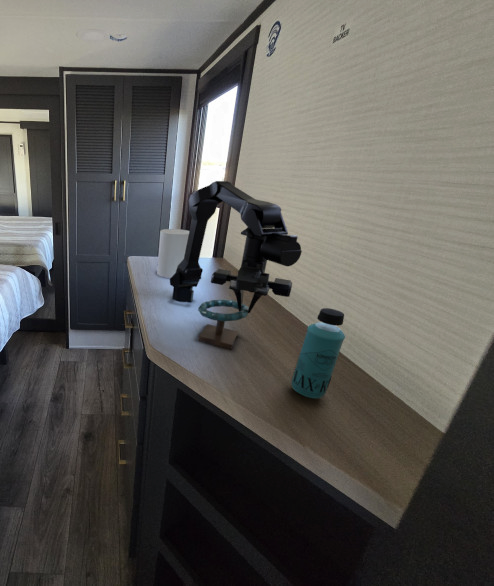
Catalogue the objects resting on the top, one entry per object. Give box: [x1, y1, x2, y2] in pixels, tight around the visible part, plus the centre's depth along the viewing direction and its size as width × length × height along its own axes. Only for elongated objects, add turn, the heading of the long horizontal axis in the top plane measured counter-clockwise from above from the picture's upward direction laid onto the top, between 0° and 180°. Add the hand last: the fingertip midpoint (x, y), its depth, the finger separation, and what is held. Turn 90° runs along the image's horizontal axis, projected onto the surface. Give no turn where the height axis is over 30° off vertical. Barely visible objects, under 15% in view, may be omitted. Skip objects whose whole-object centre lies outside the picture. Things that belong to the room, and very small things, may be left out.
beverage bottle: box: [290, 307, 346, 399], centre depth 64 cm, size 6×7×20 cm
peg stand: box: [197, 320, 239, 350], centre depth 89 cm, size 9×9×8 cm
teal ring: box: [197, 299, 249, 322], centre depth 87 cm, size 13×13×2 cm
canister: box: [156, 228, 190, 279], centre depth 143 cm, size 14×14×20 cm
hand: (244, 311), depth 84 cm, fingers closed on teal ring, 2 cm apart
